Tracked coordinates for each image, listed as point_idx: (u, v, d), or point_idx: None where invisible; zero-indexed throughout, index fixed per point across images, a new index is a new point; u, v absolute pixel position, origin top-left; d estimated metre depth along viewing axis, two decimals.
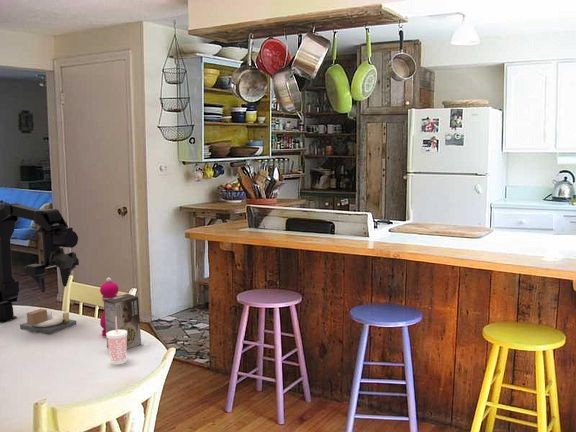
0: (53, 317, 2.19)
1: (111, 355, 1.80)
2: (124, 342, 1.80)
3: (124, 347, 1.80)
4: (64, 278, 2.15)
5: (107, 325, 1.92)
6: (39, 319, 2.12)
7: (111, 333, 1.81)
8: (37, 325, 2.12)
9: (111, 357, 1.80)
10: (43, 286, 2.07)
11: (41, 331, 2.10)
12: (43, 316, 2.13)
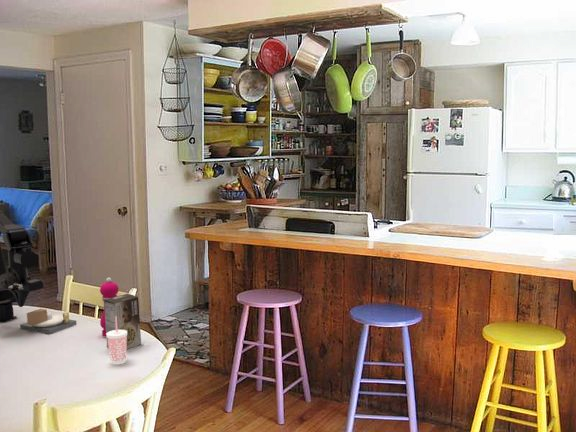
0: (53, 317, 2.19)
1: (111, 355, 1.80)
2: (124, 342, 1.80)
3: (124, 347, 1.80)
4: None
5: (107, 325, 1.92)
6: (39, 319, 2.12)
7: (111, 333, 1.81)
8: (37, 325, 2.12)
9: (111, 357, 1.80)
10: (17, 300, 2.13)
11: (41, 331, 2.10)
12: (43, 316, 2.13)
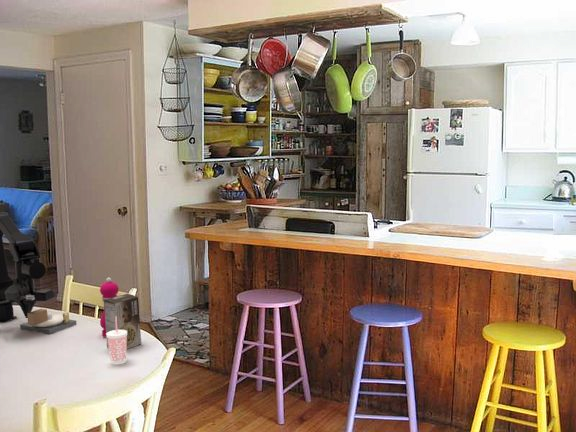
0: (53, 317, 2.19)
1: (111, 355, 1.80)
2: (124, 342, 1.80)
3: (124, 347, 1.80)
4: None
5: (107, 325, 1.92)
6: (39, 319, 2.12)
7: (111, 333, 1.81)
8: (38, 325, 2.12)
9: (111, 357, 1.80)
10: (23, 312, 2.11)
11: (41, 331, 2.10)
12: (44, 316, 2.13)
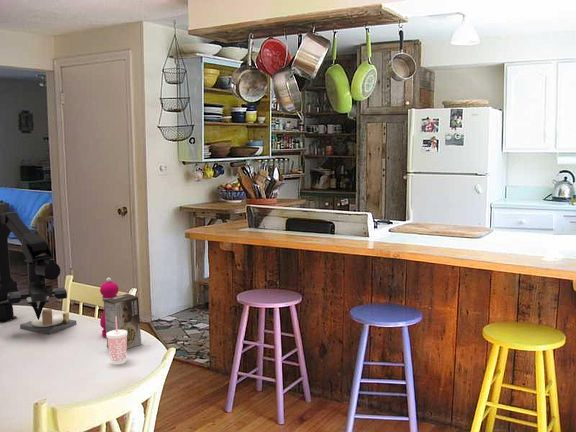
0: None
1: (111, 355, 1.80)
2: (124, 342, 1.80)
3: (124, 347, 1.80)
4: None
5: (107, 325, 1.92)
6: None
7: (111, 333, 1.81)
8: (50, 324, 2.12)
9: (111, 357, 1.80)
10: (37, 313, 2.09)
11: (41, 331, 2.10)
12: None
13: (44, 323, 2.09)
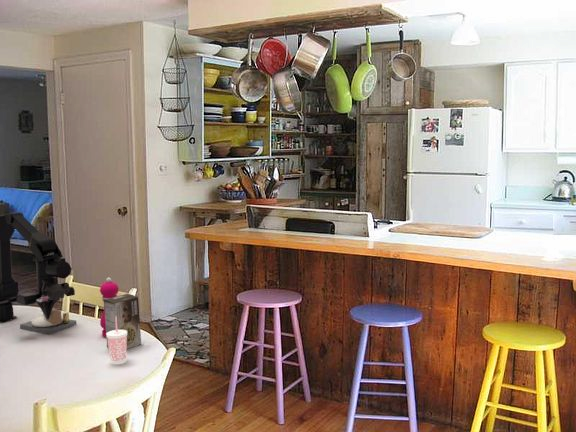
0: None
1: (111, 355, 1.80)
2: (124, 342, 1.80)
3: (124, 347, 1.80)
4: None
5: (107, 325, 1.92)
6: None
7: (111, 333, 1.81)
8: (57, 323, 2.14)
9: (111, 357, 1.80)
10: (47, 313, 2.09)
11: (41, 331, 2.10)
12: None
13: (54, 322, 2.11)
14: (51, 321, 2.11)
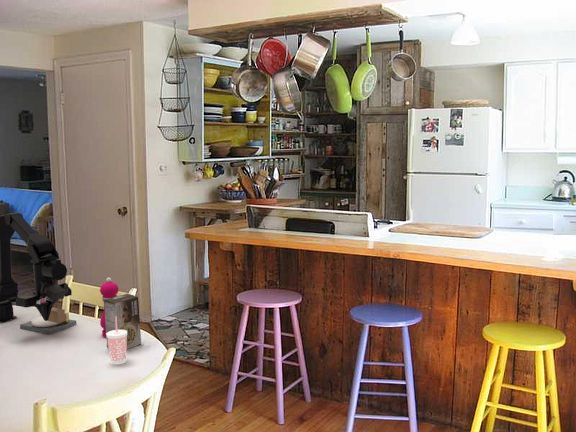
0: None
1: (111, 355, 1.80)
2: (124, 342, 1.80)
3: (124, 347, 1.80)
4: None
5: (107, 325, 1.92)
6: None
7: (111, 333, 1.81)
8: (60, 322, 2.15)
9: (111, 357, 1.80)
10: (45, 314, 2.08)
11: (41, 331, 2.10)
12: None
13: (59, 320, 2.12)
14: (55, 320, 2.12)
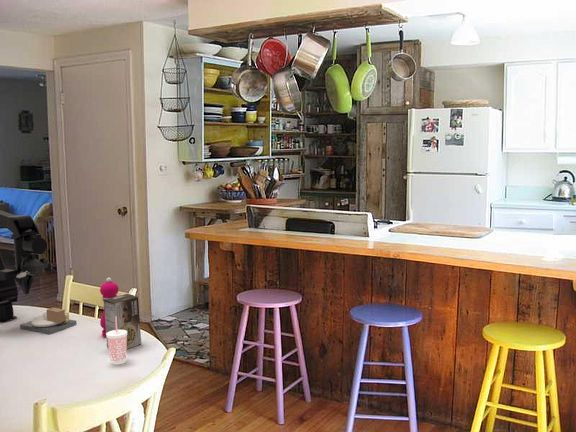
0: None
1: (111, 355, 1.80)
2: (124, 342, 1.80)
3: (124, 347, 1.80)
4: None
5: (107, 325, 1.92)
6: None
7: (111, 333, 1.81)
8: (60, 322, 2.15)
9: (111, 357, 1.80)
10: (26, 288, 2.15)
11: (41, 331, 2.10)
12: None
13: (59, 320, 2.12)
14: (55, 320, 2.12)
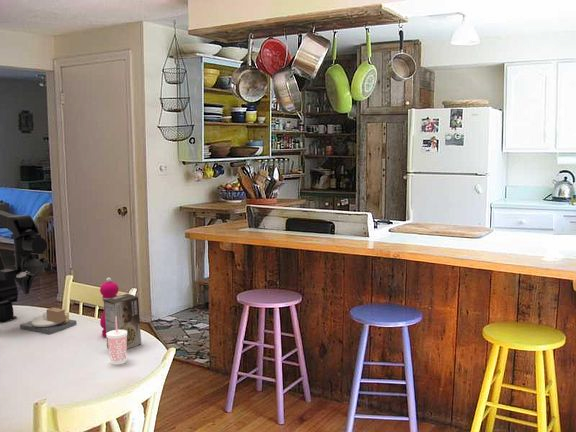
0: None
1: (111, 355, 1.80)
2: (124, 342, 1.80)
3: (124, 347, 1.80)
4: None
5: (107, 325, 1.92)
6: None
7: (111, 333, 1.81)
8: (60, 322, 2.15)
9: (111, 357, 1.80)
10: (26, 288, 2.15)
11: (41, 331, 2.10)
12: None
13: (59, 320, 2.12)
14: (55, 320, 2.12)
